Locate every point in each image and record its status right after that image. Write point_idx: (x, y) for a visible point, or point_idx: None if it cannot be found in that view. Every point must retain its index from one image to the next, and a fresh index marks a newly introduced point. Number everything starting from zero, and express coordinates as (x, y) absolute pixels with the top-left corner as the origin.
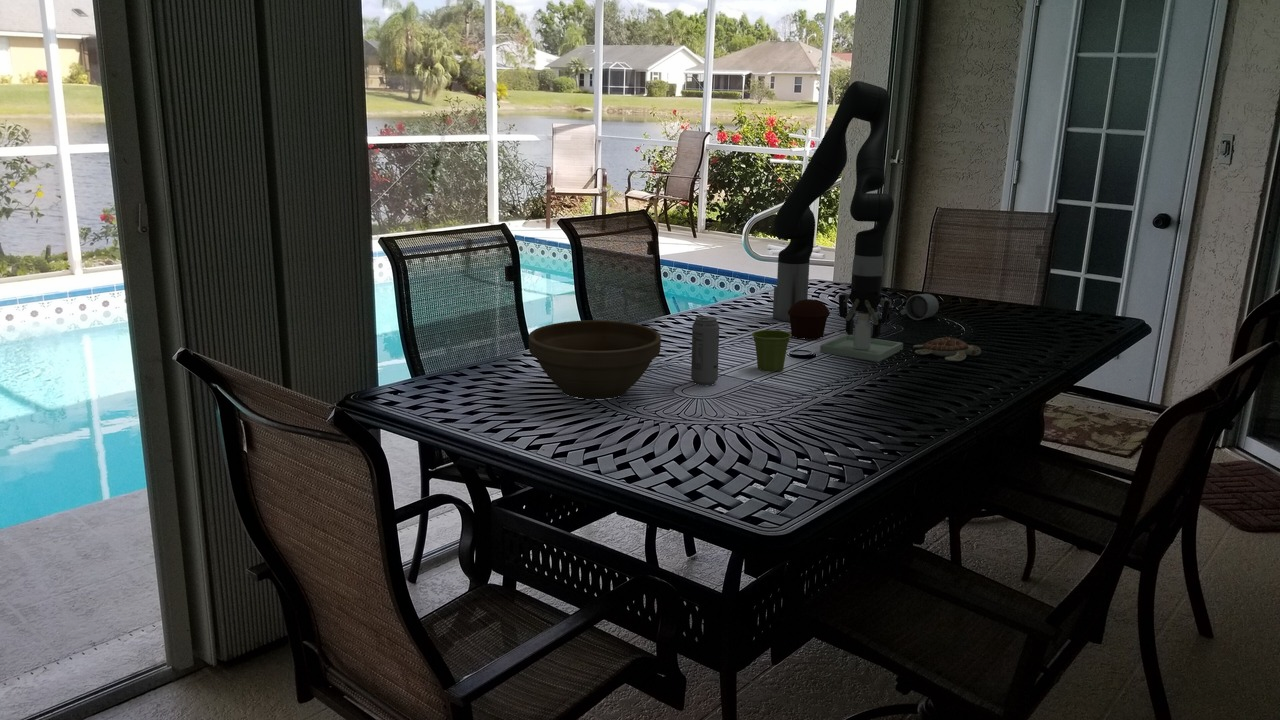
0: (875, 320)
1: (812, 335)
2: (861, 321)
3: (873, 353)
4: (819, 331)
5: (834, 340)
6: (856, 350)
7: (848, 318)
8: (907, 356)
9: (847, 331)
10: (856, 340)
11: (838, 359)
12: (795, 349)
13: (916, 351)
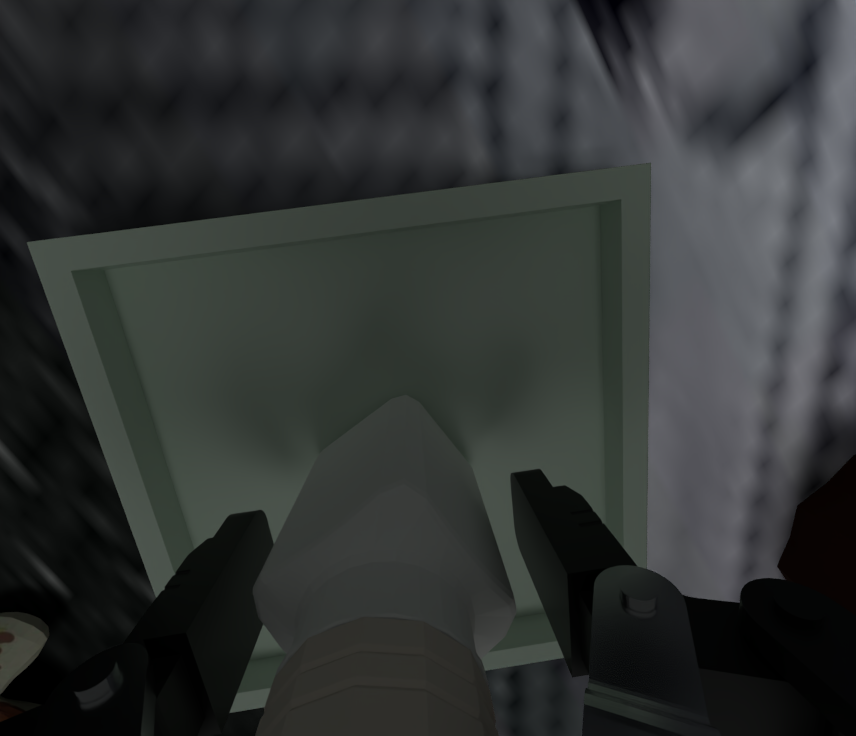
0: (89, 718)
1: (851, 499)
2: (364, 606)
3: (99, 249)
4: (842, 562)
5: (629, 422)
6: (287, 238)
7: (623, 595)
8: (75, 551)
9: (547, 480)
10: (399, 418)
11: (365, 55)
12: (819, 104)
13: (14, 626)
